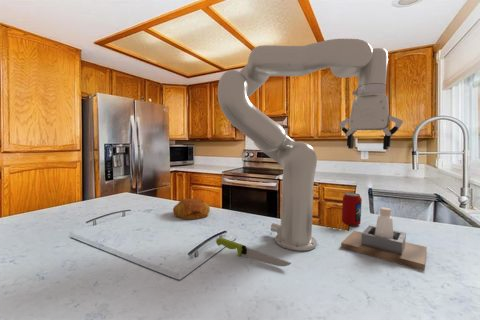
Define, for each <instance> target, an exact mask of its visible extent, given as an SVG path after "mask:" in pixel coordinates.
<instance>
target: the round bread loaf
mask: <svg viewBox="0 0 480 320" xmlns="http://www.w3.org/2000/svg"><path fill="white" fill-rule="evenodd" d="M172 212H173V214H174V216H175V217H177V218H179V219H182V220H198V219H202V218H206V217H207V218H208V216H209V213H210V205H209V204H208V203H207V202H205V200H203V199H201V198H196V197H195V198H187V199H181V200H180V201H179V202H178V203H177V204H176V205H174V206H173V209H172Z"/></svg>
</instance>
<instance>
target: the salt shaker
mask: <svg viewBox="0 0 480 320" xmlns="http://www.w3.org/2000/svg"><path fill="white" fill-rule="evenodd" d="M379 211H380V212H379V215H377V219H376V225H375V227H376V230H375V235H376V236H380V237H385V238H389V239H394V238H393V230H394V223H393V217H392V216H391V213H392V209H391V208H390V207H389V208H388V207H384V206H383V207H380V208H379Z"/></svg>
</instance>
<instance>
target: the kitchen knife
mask: <svg viewBox="0 0 480 320" xmlns="http://www.w3.org/2000/svg"><path fill="white" fill-rule="evenodd" d="M215 243H216V245H217V246H221V245H222V246H223V247H225V248H227V249H229V250H236V251H237V257H245V258H248V259H251V260H255V261H259V262H263V263H265V264H270V265H274V266H277V267H288V266H290V265H291V264H292V262H289V261H286V260H285V259H281V258H278V257H276V256H275V257H274V256H272V255H269V254H266V253H263V252H260V251H258V250H255V249H252V248H249V247H247V246H246V245H243V244H241V243H239V242H236V241H232V240H229V239H226V238H223V237H218V238H217V239H216V241H215Z"/></svg>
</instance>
